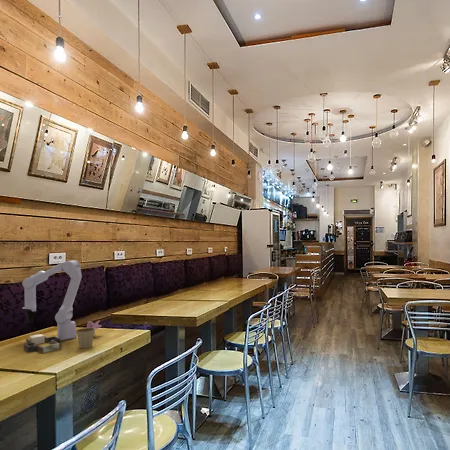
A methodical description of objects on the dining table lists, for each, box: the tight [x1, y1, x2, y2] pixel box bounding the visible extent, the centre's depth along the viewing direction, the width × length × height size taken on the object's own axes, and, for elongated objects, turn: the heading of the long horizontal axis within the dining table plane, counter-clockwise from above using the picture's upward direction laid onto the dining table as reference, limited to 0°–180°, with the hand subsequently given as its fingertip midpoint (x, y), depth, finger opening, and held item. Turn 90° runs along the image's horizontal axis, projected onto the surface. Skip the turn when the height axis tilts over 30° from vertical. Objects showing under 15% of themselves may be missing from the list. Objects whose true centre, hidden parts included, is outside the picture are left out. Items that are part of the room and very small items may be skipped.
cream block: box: [28, 333, 45, 346], centre depth 208 cm, size 6×6×4 cm
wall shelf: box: [23, 335, 62, 354], centre depth 200 cm, size 17×27×3 cm, turn 42°
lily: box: [86, 320, 102, 339], centre depth 216 cm, size 12×12×10 cm
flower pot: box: [76, 327, 96, 349], centre depth 196 cm, size 9×9×9 cm
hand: (30, 322), depth 216 cm, fingers closed
